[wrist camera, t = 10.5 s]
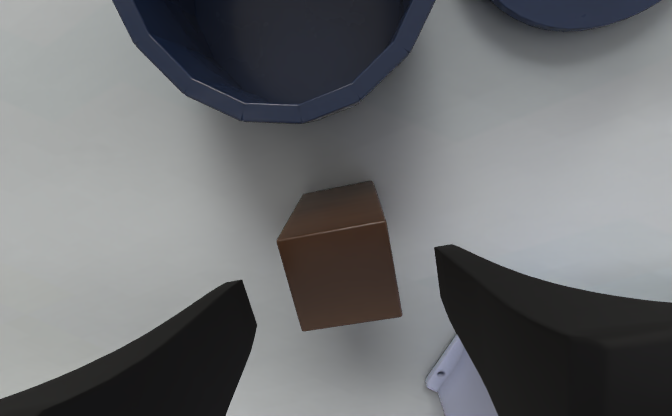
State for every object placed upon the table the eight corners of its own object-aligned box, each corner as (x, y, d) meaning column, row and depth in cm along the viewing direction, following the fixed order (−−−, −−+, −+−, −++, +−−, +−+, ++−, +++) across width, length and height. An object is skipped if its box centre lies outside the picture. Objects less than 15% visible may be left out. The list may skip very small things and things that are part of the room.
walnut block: (384, 245, 19) (403, 317, 12) (318, 257, 20) (301, 332, 13) (372, 180, 18) (386, 220, 11) (302, 193, 18) (275, 240, 12)
